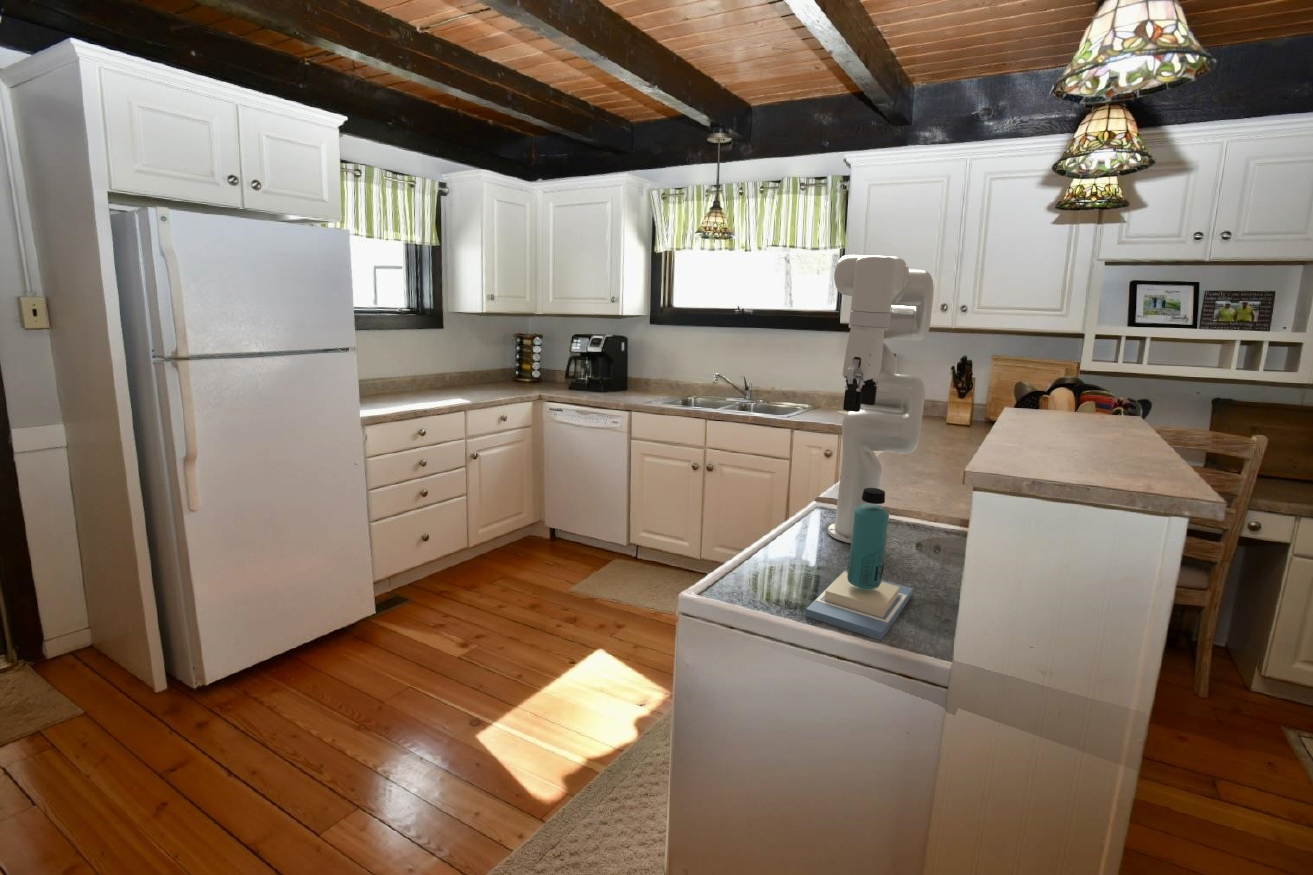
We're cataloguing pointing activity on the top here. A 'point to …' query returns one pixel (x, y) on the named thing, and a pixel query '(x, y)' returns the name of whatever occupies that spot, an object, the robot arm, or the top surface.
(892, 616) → the board
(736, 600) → the top surface
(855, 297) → the robot arm
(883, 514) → the beverage bottle
